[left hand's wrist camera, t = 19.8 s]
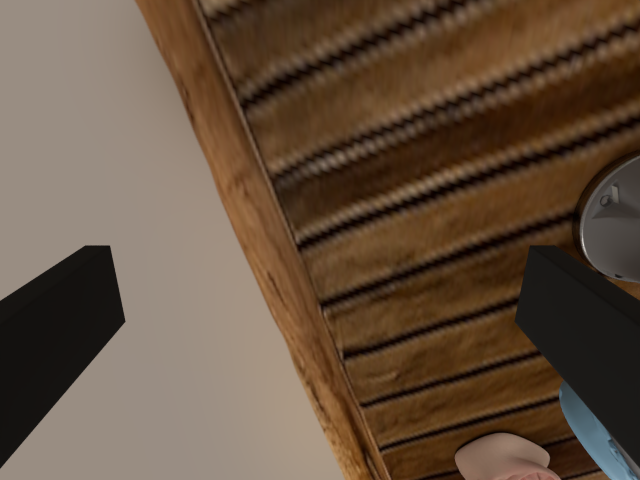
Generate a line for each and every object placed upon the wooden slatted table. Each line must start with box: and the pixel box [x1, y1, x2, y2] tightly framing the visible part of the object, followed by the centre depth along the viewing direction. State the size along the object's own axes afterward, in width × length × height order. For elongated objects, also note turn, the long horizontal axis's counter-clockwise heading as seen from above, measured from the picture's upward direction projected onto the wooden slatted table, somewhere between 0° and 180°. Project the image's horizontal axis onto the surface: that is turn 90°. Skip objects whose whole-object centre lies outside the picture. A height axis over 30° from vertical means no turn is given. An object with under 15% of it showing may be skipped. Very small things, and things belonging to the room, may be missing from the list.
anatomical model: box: [455, 433, 561, 480], centre depth 57 cm, size 13×4×12 cm
